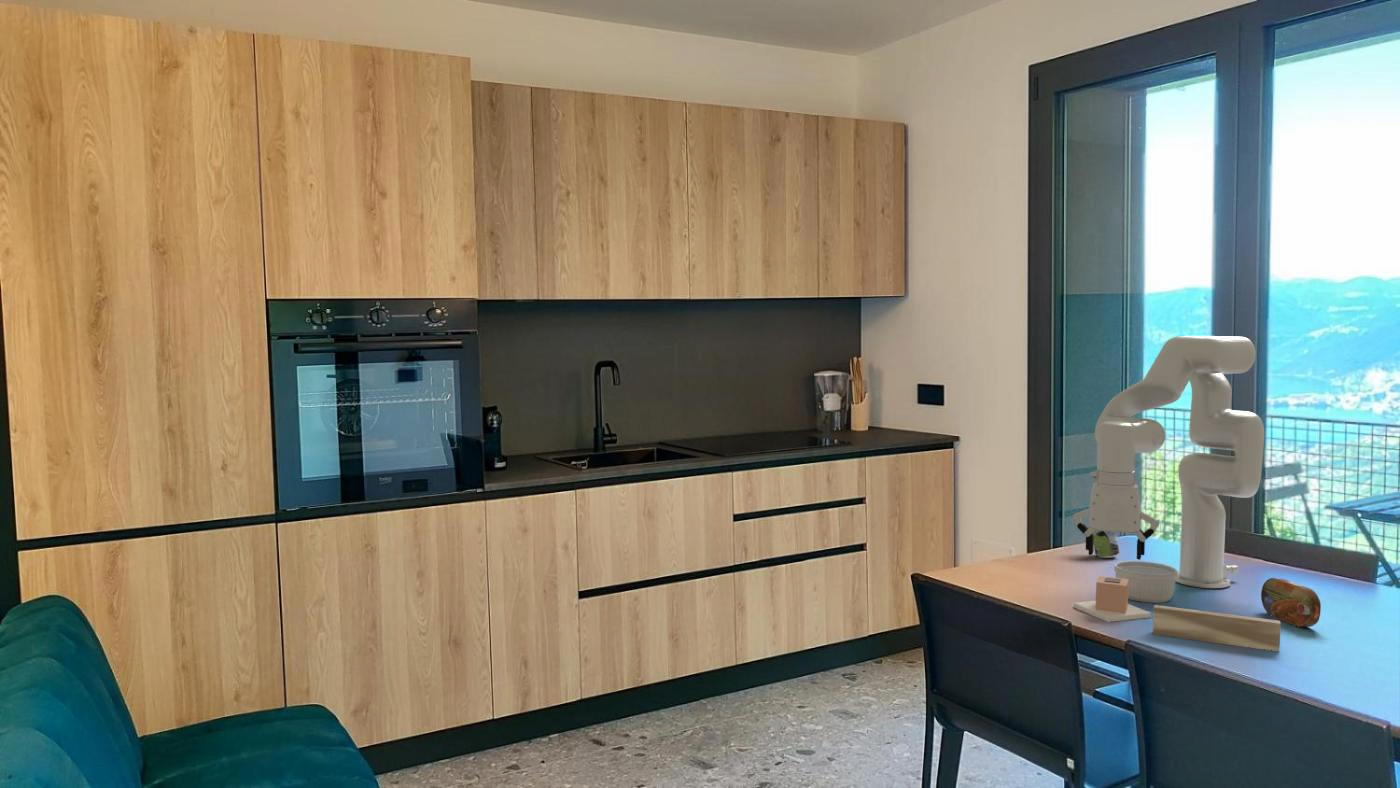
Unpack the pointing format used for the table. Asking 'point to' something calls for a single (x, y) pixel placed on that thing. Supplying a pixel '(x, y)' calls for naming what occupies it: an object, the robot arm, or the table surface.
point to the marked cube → (1112, 594)
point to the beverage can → (1105, 544)
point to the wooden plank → (1217, 627)
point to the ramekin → (1147, 580)
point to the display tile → (1112, 616)
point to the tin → (1291, 602)
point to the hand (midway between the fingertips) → (1114, 555)
